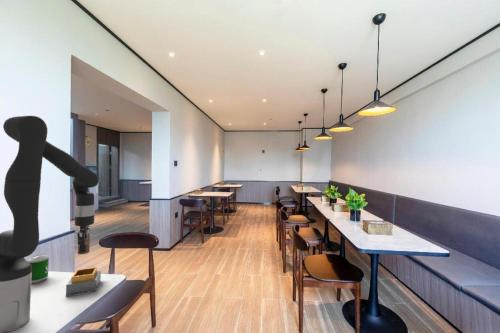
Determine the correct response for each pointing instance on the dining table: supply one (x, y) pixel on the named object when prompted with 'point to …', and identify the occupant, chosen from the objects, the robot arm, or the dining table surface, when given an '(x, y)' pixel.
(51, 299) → the dining table surface
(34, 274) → the soda can
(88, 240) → the walnut plug
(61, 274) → the dining table surface
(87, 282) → the box
